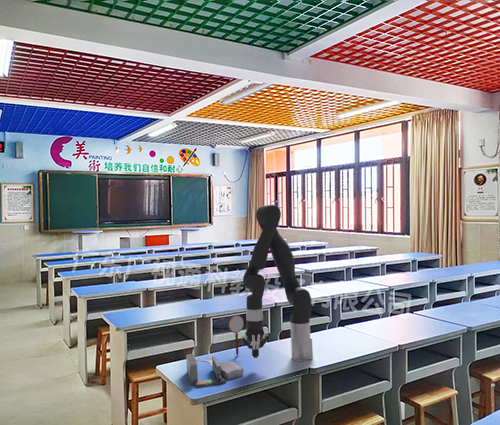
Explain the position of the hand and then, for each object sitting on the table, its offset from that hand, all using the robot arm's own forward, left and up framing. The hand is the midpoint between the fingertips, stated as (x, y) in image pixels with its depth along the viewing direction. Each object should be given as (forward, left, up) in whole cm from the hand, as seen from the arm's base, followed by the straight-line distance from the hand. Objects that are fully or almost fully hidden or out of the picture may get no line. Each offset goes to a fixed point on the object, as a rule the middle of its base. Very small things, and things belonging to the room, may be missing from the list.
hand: (255, 357), depth 184 cm
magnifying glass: (+4, -20, -5) cm, 21 cm away
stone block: (+11, +1, -6) cm, 13 cm away
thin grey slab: (+18, +3, -5) cm, 19 cm away
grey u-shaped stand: (+23, +2, -5) cm, 24 cm away
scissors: (+18, -16, -6) cm, 24 cm away
